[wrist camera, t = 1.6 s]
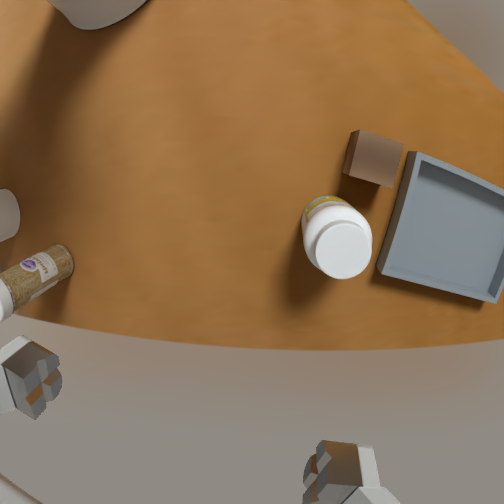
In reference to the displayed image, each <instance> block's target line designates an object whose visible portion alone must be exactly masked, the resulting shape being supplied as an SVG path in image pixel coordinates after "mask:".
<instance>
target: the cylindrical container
mask: <svg viewBox="0 0 504 504" xmlns="http://www.w3.org/2000/svg"><path fill="white" fill-rule="evenodd" d="M19 226H20V209H19V205H18V202H17V200H16V198H15V196H14V195H13V193H12V192H11V191H9V190H8V189H1V190H0V242H1V241H4V240H6V239H8V238H11V237H13V236H15V235H16V233H17V232H18V229H19Z"/></svg>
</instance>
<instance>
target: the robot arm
mask: <svg viewBox="0 0 504 504" xmlns="http://www.w3.org/2000/svg"><path fill="white" fill-rule="evenodd" d="M46 1H48V2H49V3H50V4H52V5H53V6H55V7H56V8H57V9H58V10H59V11H61V12H62V13H63V14H64V15H65V16H66V18H67V19H68V20H69V22H70V23H71V24H72V25H73V26H75V27H77V28H80V29H84V30H93V29H99V28H103V27H106V26H109V25H111V24H114V23H116V22H118V21H120V20H121V19H123V18H125V17H126V16H128V15H129V14H131V13H132V12H134V11H135V10H136V9H137V8H139V7H140V6H141V5H142V4H143V3H144V2H145V1H146V0H46ZM59 365H60V363H59V359H58V356H57V355H56V354H54V353H52V352H51V351H49V350H47V349H45V348H44V347H42V346H40V345H38V344H37V343H35V342H34V341H32V340H30V339H28V338H27V337H25V336H18V337H17V338H15V339H14V340H12V341H11V342H10V343H8V344H7V345H6V346H4V347H3V348H2V349H0V415H2V414H4V413H7V412H10V411H13V410H16V408H17V409H18V410H20V411H21V412H23V413H25V414H26V415H28V416H29V417H31V418H33V419H34V420H36V418H38V416H39V415H40V414H41V413H42V412H43V411H44V410H45V409H46V402H48V401H52V400H54V399H55V398H56V397H57V395H58V394H59V392H60V389H61V387H62V376H61V374H60V372H59V371H58V369H57V367H58V366H59ZM303 484H304V485H305V487H306V488H307V490H306V492H305V493H304V494H303V503H302V504H401V503H400V502H399V501H398V500H397V499H396V498H395V497H394V496H393V495H392V494H391V493H390V492H389V491H388V490H387V489H386V488H385V487H380V481H379V476H378V471H377V466H376V461H375V456H374V451H373V447H372V446H371V445H363V444H353V443H344V442H335V441H326V440H322V441H321V442H320V443H319V444H318V446H317V447H316V454H314V455H312V456H311V457H310V458H309V460H308V462H307V464H306V467H305V470H304V476H303ZM0 504H43V503H42V502H40V501H38V500H37V499H35V498H34V497H32V496H31V495H29V494H28V493H27V492H25V491H24V490H22V489H21V488H19V487H18V486H17V485H15V484H14V483H13V482H11V481H10V480H9V479H7V478H6V477H5V476H3V475H2V474H1V473H0Z"/></svg>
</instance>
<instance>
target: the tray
mask: <svg viewBox="0 0 504 504" xmlns="http://www.w3.org/2000/svg"><path fill="white" fill-rule="evenodd" d="M376 267H377V268H378V270H379V271H380V273H381V274H383V275H387V276H391V277H395V278H399V279H402V280H406V281H410V282H414V283H418V284H422V285H426V286H429V287H433V288H437V289H441V290H445V291H449V292H452V293H456V294H460V295H464V296H468V297H471V298H475V299H479V300H483V301H486V302H490V303H494V304H496V303H497V301H498V298H499V296H500V294H501V291H502V289H503V287H504V190H503V189H501V188H499V187H497V186H495V185H493V184H491V183H489V182H487V181H485V180H483V179H481V178H479V177H476V176H474V175H472V174H470V173H468V172H466V171H463V170H461V169H459V168H457V167H454V166H452V165H450V164H447V163H445V162H443V161H440V160H438V159H435V158H433V157H430V156H428V155H425V154H423V153H420V152H418V151H408V155H407V160H406V164H405V168H404V172H403V176H402V180H401V184H400V187H399V191H398V195H397V198H396V202H395V206H394V209H393V212H392V216H391V219H390V223H389V226H388V229H387V232H386V236H385V239H384V242H383V245H382V248H381V251H380V254H379V257H378V260H377V263H376Z"/></svg>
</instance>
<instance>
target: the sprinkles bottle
mask: <svg viewBox="0 0 504 504" xmlns="http://www.w3.org/2000/svg"><path fill="white" fill-rule="evenodd" d="M73 264H74V263H73V259H72V256H71V254H70V252H69V251H68V250H67V249H66V248H65V247H64V246H62V245H59V244H57V245H53V246H52V247H51V248H49V249H47V250H45V251H43V252H40V253H37V254H35V255H33V256H31V257H29V258H27V259H25V260H23V261H22V262H21V263H19V264H17V265H15V266H13V267H11V268H9V269H7V270H5V271H4V272H2V273H0V322H2V321H4V320H5V319H7V318H8V317H10V316H11V314H13V313H14V311H15V310H17V309H18V308H20V307H21V306H23V305H24V304H26V303H28V302H30V301H31V300H33V299H34V298H36V297H37V296H39V295H40V294H42V293H43V292H45V291H46V290H48V289H49V288H51V287H52V286H54V285H55V284H56V283H57V282H59V281H61V280H62V279H64V278H66V277H69V276H70V275H71V273H72V271H73V268H74V265H73Z"/></svg>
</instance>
